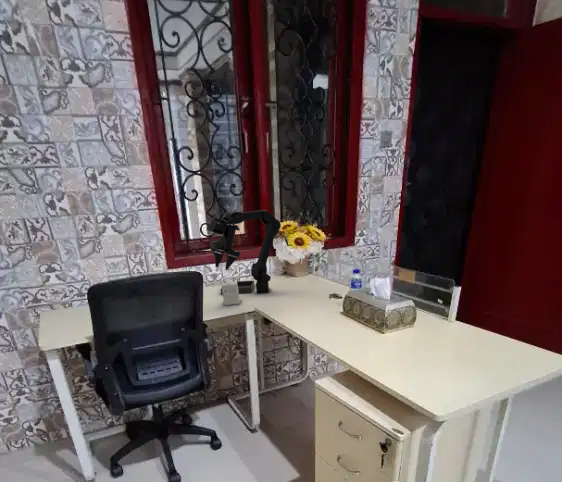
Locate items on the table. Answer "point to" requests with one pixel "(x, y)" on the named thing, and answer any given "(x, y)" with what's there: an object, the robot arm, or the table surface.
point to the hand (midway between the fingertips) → (221, 268)
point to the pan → (244, 286)
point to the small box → (230, 293)
